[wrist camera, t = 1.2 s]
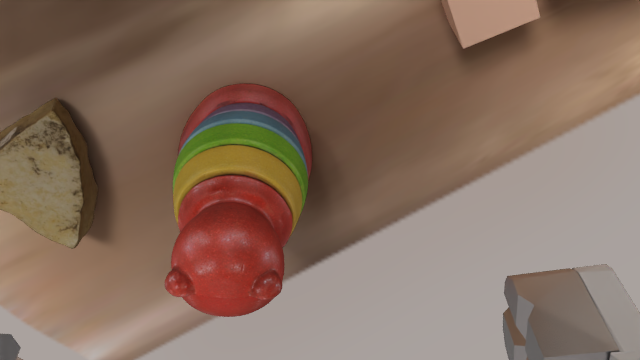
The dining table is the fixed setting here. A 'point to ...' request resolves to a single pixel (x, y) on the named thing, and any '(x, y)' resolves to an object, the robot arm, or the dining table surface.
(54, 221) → the rock
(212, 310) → the stacking bear
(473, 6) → the terracotta block
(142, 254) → the dining table surface
